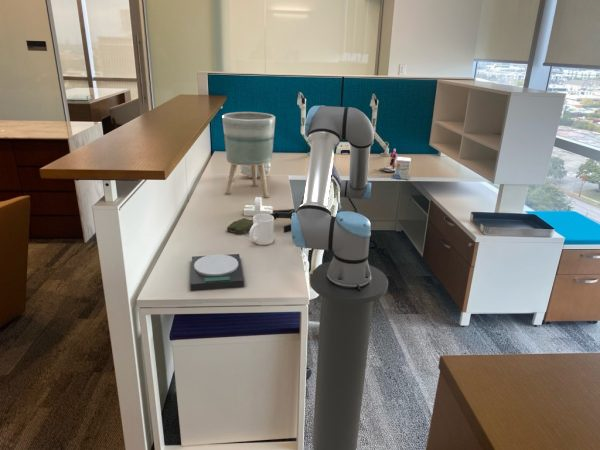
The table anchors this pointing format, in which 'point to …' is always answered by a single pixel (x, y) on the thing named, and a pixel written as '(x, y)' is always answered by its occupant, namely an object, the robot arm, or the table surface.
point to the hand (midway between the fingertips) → (273, 224)
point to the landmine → (240, 226)
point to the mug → (262, 229)
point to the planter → (249, 143)
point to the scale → (216, 272)
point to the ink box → (402, 167)
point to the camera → (247, 170)
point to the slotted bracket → (257, 208)
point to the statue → (392, 163)
